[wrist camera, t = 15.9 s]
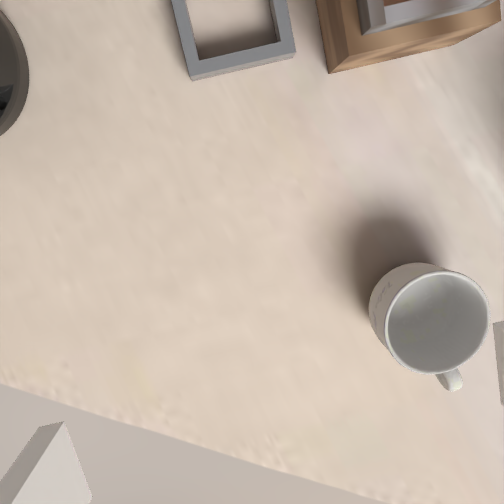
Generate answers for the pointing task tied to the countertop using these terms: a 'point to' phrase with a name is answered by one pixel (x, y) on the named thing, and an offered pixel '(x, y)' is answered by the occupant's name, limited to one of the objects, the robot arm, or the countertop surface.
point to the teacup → (430, 319)
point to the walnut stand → (397, 27)
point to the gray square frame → (241, 58)
